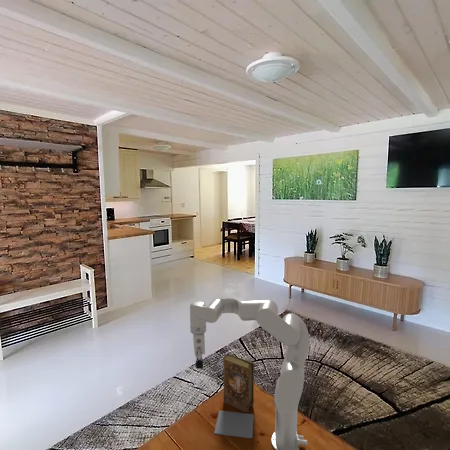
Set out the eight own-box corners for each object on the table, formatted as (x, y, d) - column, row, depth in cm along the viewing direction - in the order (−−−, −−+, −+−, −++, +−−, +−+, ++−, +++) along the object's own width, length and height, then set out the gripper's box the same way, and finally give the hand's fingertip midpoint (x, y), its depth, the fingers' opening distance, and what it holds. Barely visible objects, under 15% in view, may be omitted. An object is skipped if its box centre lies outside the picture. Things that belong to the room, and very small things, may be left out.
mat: (253, 415, 143) (253, 414, 143) (252, 438, 130) (252, 437, 129) (219, 411, 146) (219, 410, 146) (214, 433, 132) (214, 433, 132)
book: (222, 401, 153) (222, 358, 150) (227, 395, 158) (227, 353, 155) (248, 413, 144) (249, 368, 142) (253, 406, 149) (254, 362, 146)
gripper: (207, 336, 125) (208, 372, 127) (205, 319, 142) (205, 351, 144) (190, 337, 124) (191, 373, 126) (190, 320, 141) (191, 352, 143)
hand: (199, 361), depth 135 cm, fingers open, 9 cm apart
